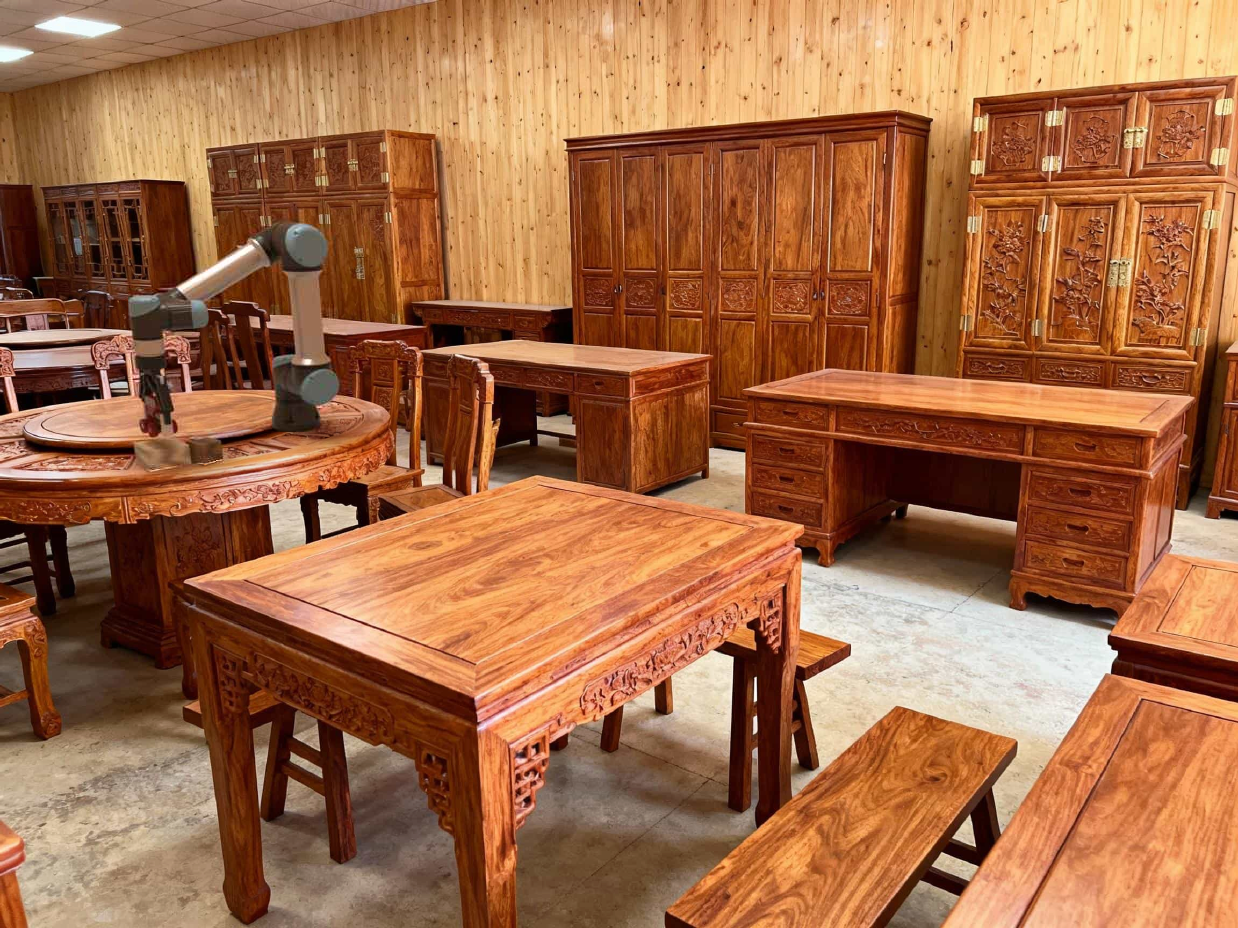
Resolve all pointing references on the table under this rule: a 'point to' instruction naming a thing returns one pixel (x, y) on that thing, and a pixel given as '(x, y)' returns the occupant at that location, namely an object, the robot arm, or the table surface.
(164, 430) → the robot arm
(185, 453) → the birch block
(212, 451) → the walnut cube
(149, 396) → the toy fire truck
